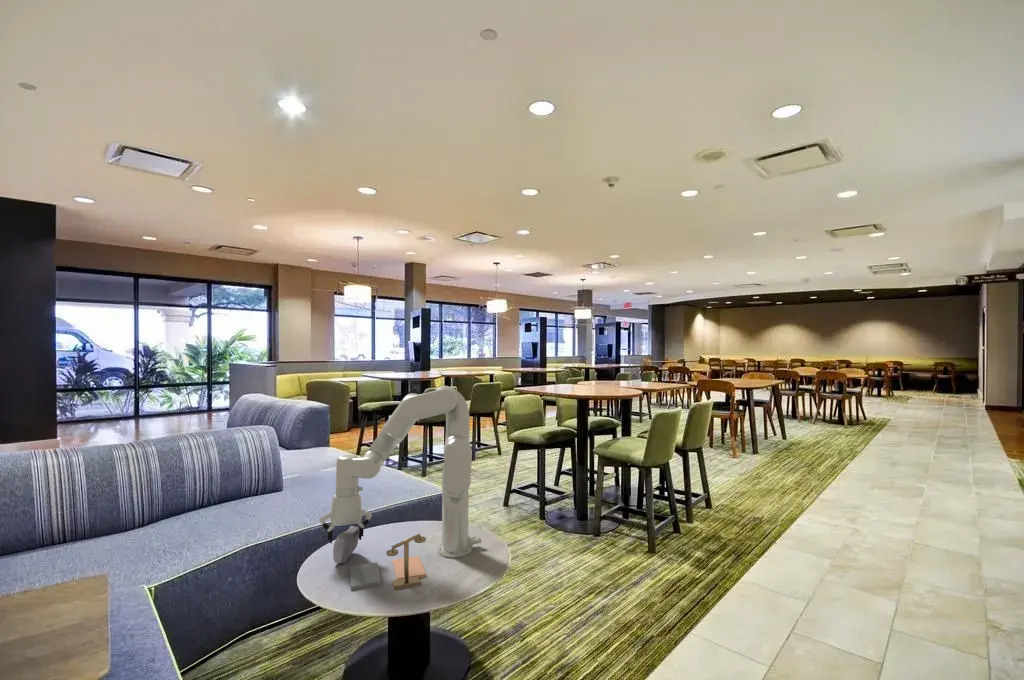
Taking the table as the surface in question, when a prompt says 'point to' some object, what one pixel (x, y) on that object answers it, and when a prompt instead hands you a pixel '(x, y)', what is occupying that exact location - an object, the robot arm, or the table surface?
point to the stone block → (345, 544)
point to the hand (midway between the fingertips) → (345, 540)
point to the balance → (406, 563)
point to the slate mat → (364, 576)
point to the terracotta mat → (414, 567)
